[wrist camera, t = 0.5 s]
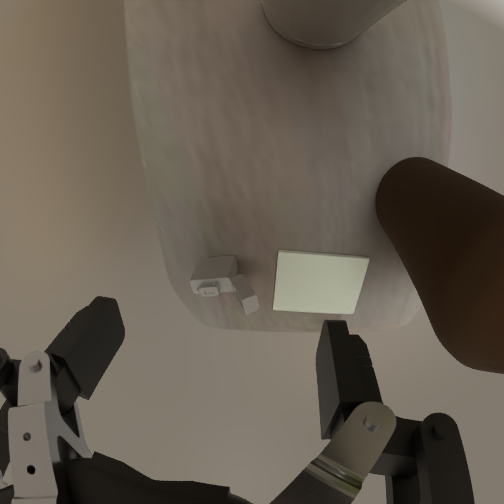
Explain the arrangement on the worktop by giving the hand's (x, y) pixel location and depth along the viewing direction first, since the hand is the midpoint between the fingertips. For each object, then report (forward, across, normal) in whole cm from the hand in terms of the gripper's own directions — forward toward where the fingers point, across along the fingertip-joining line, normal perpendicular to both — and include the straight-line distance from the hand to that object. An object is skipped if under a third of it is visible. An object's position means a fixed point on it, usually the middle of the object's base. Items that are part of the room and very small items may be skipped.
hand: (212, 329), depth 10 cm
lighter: (+20, +2, +8) cm, 21 cm away
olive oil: (+19, -17, -1) cm, 25 cm away
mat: (+20, -8, +10) cm, 23 cm away
